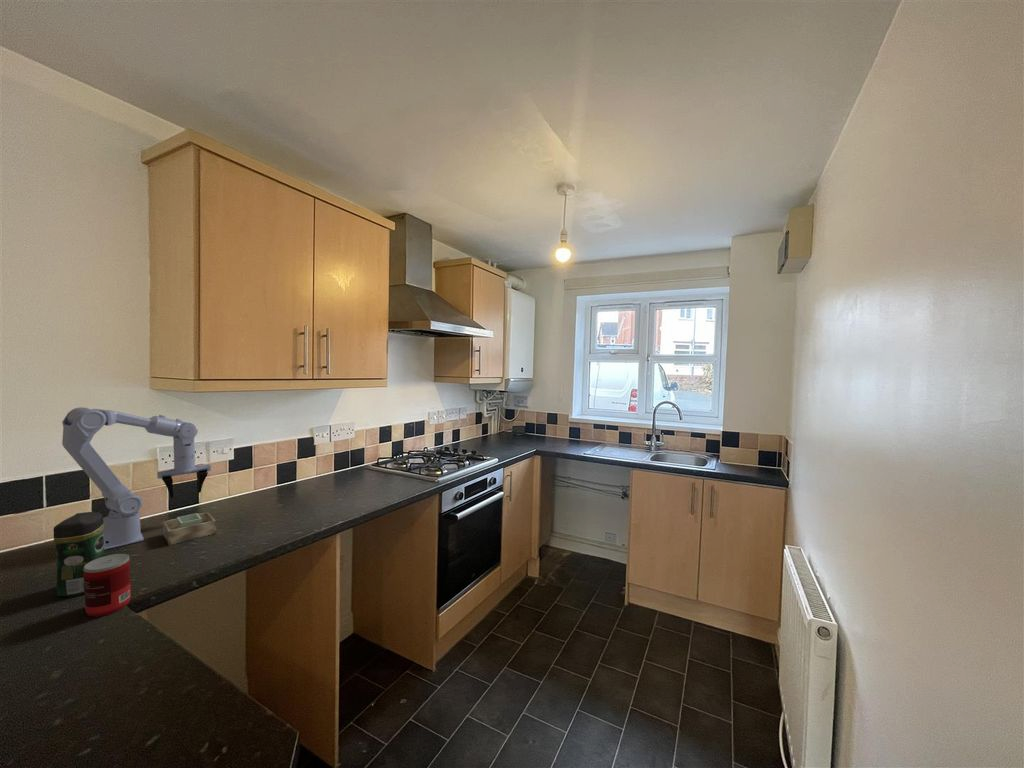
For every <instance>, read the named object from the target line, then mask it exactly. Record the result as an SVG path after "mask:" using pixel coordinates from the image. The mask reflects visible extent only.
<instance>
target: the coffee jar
mask: <svg viewBox="0 0 1024 768" xmlns="http://www.w3.org/2000/svg"><path fill="white" fill-rule="evenodd" d="M103 518H104V517H103V514H101V513H100V512H98V511H86V512H85V511H84V512H77V513H75V514H74V515H72V516H70V517H68V518H66V519H64V520H62V521H60V522H59V523H57V524H56V525H55V526H53V542H54V546H55V552H56V553H55V554H56V555H55V556H56V557H55V558H56V561H55V562H56V595H57V596H59V597H75V596H79V595H81V594H84V572H83V569H84V566H85V565H86V564H87V563H89V562H91V561H93V560H95V559H98V558H101V557H104V556H106V551H105V550H104V538H103V531H104V521H103Z"/></svg>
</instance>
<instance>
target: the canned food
mask: <svg viewBox="0 0 1024 768" xmlns="http://www.w3.org/2000/svg"><path fill="white" fill-rule="evenodd" d="M130 562H131V561H130V555H129V554H127V553H114V554H109V555H105V556H104V557H101V558H98V559H95V560H93V561H91V562H89V563H87V564H86V565H85V566H84V569H83V572H84V593H83V595H84V608H85V609H84V610H85V613H86V615H87V616H89V617H102V616H106V615H110V614H113V613H115V612H117V611H120V610H122V609H123V608H125V607H126V606H127V605H128V604H129V603H130V602H131V598H132V589H131V587H132V586H131V563H130Z"/></svg>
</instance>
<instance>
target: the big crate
mask: <svg viewBox="0 0 1024 768" xmlns="http://www.w3.org/2000/svg"><path fill="white" fill-rule="evenodd" d="M198 515H199V516H200V517H201V518H202V523H201V524H197V525H192V526H188V527H183V528H179V529H177V518H173V519H169V520H164V521H162V532H163V533H162V534H163V537H164V540H165V541H166V542H167V544H168V546H173V544H174V545H177V543H178V544H182V543H185V542H184V541H186V542H189V541H188V540H190V541H193V540H192V539H194V540H197V539H196V538H198V539H201V538H200V537H202V538H205V537H204V536H206V537H208V535H210V536H213V535H212V534H214V535H217V520H216V519H215V517H213V516H212V514H211V513H210V512H209V511H206V512H202V513H198ZM181 542H182V543H181Z"/></svg>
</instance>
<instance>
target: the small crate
mask: <svg viewBox="0 0 1024 768" xmlns="http://www.w3.org/2000/svg"><path fill="white" fill-rule="evenodd" d="M198 514H199V513H198V512H195V513H191V514H186V515H182V516H177V517H176V519H177V529H179V528H183V527H188V526H192V525H197V524H201V523H202V518H201V517H200V516H199V515H198Z"/></svg>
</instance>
